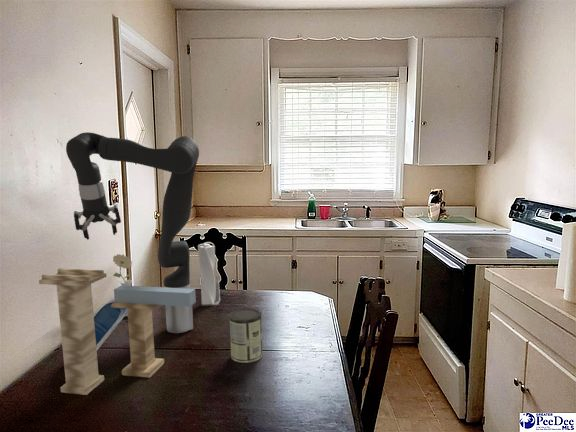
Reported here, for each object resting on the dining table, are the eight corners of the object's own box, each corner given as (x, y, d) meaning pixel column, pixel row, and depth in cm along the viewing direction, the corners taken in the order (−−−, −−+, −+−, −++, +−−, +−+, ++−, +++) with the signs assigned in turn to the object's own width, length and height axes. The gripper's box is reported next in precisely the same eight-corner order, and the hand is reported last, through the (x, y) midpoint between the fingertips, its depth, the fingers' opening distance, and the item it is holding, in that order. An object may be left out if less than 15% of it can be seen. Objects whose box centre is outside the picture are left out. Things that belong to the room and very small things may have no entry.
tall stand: (114, 380, 126) (105, 269, 122) (95, 396, 118) (84, 278, 113) (72, 376, 129) (62, 267, 125) (50, 392, 121) (38, 276, 116)
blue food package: (64, 353, 132) (116, 288, 133) (80, 341, 144) (128, 282, 145) (80, 365, 132) (133, 300, 134) (95, 353, 144) (143, 293, 146)
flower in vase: (148, 311, 182) (145, 253, 178) (125, 320, 172) (121, 259, 169) (128, 306, 189) (124, 250, 185) (105, 314, 179) (100, 255, 176)
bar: (195, 302, 128) (195, 288, 128) (190, 306, 124) (189, 293, 124) (122, 298, 133) (121, 285, 133) (114, 302, 129) (113, 289, 129)
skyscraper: (217, 306, 187) (214, 242, 183) (198, 306, 187) (195, 242, 183) (220, 300, 195) (218, 238, 191) (202, 300, 195) (199, 239, 191)
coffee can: (238, 346, 147) (237, 306, 145) (267, 350, 144) (266, 310, 142) (224, 360, 137) (223, 318, 135) (254, 365, 134) (253, 321, 132)
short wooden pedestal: (171, 363, 136) (167, 297, 133) (157, 378, 127) (153, 307, 124) (131, 360, 139) (126, 295, 136) (114, 374, 130) (109, 305, 127)
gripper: (114, 186, 149) (121, 227, 157) (68, 192, 144) (78, 234, 151) (116, 195, 143) (123, 237, 151) (68, 202, 138) (79, 245, 145)
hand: (101, 236), depth 151 cm, fingers open, 8 cm apart
